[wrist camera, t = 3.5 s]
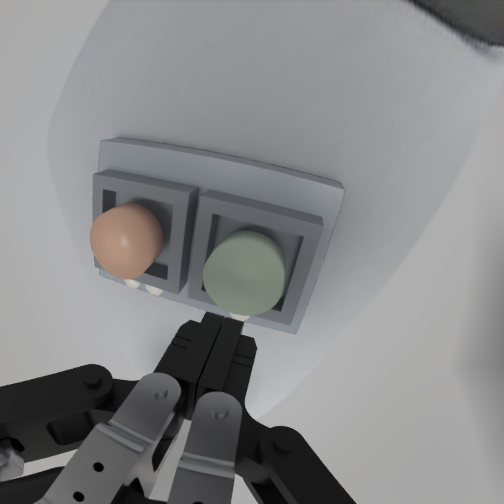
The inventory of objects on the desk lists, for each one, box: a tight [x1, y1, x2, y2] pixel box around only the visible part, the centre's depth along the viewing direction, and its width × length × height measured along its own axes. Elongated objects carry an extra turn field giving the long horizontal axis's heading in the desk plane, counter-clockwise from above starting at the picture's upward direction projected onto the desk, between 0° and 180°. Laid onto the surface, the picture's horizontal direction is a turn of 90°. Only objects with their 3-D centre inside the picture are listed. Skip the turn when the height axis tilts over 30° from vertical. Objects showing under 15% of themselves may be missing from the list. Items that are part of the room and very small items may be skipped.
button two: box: [90, 202, 164, 279], centre depth 16 cm, size 4×4×2 cm
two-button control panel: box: [93, 138, 345, 334], centre depth 18 cm, size 10×15×4 cm, turn 79°
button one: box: [203, 231, 286, 316], centre depth 15 cm, size 4×4×2 cm
